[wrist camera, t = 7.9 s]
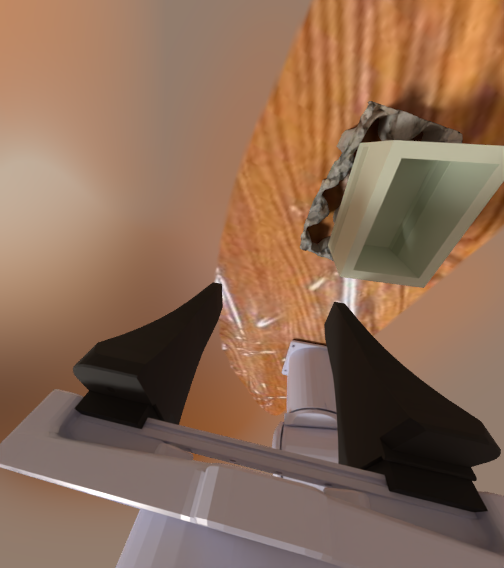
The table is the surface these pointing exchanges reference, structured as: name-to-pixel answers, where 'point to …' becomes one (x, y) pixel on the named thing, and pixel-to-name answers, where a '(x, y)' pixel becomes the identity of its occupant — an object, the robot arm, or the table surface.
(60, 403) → the robot arm
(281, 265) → the table surface
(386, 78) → the table surface
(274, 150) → the table surface
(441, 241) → the box
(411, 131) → the egg carton
